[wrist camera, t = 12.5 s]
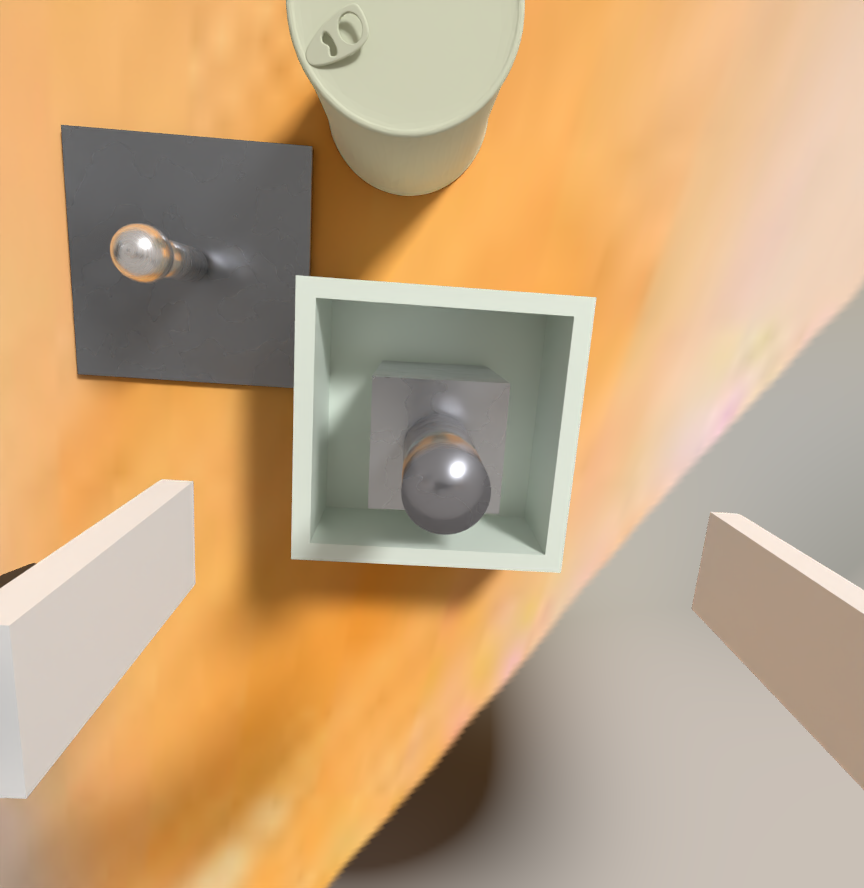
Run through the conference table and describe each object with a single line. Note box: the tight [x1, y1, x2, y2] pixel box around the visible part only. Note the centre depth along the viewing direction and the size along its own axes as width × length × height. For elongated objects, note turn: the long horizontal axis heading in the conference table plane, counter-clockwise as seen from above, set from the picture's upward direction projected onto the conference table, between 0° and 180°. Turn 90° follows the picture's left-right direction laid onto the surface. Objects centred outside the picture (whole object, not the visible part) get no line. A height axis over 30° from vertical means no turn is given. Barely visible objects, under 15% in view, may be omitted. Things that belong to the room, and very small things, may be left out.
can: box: [286, 0, 525, 196], centre depth 27 cm, size 9×9×12 cm
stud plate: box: [61, 125, 313, 388], centre depth 30 cm, size 14×14×8 cm
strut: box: [368, 360, 510, 535], centre depth 28 cm, size 6×6×16 cm
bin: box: [291, 275, 596, 573], centre depth 33 cm, size 15×15×7 cm
